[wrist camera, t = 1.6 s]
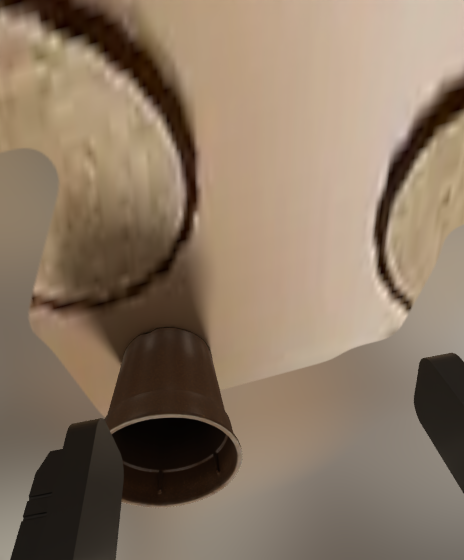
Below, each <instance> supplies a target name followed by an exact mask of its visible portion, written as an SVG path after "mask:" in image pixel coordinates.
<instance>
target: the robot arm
mask: <svg viewBox="0 0 464 560" xmlns="http://www.w3.org/2000/svg"><path fill="white" fill-rule="evenodd" d="M414 405H415V410H416V413H417V416H418V419H419V421H420V423H421V424H422V426H423V428H424V429H425V431H426V432H427V434H428V436H429V437H430V439H431V441H432V442H433V444H434V446H435V447H436V449H437V450H438V452H439V454H440V455H441V457H442V459H443V460H444V462H445V464H446V465H447V467H448V469H449V470H450V472H451V473H452V475H453V477H454V478H455V480H456V482H457V483H458V485H459V486H460V488H461V490H462V491H463V493H464V362H463V361H462V359H461V358H460V357H459V356H458V355H456V354H454V353H448V354H443V355H437V356H432V357H427V358H423V359H421V361H420V363H419V369H418V376H417V383H416V388H415V395H414ZM123 481H124V469H123V461H122V457H121V454H120V451H119V449H118V447H117V445H116V443H115V441H114V439H113V436H112V434H111V432H110V430H109V428H108V426H107V424H106V422H105V420H104V419H102V418H100V419H95V420H90V421H85V422H80V423H74V424H71V425H70V426H69V428H68V431H67V434H66V438H65V442H64V446H63V449H60V450H55V451H50V453H49V454H48V456H47V457H46V459H45V460H44V462H43V463H42V465H41V466H40V468H39V469H38V470H37V472H36V474H35V478H34V481H33V484H32V488H31V491H30V494H29V501H28V502H27V505H26V508H25V511H24V515H23V518H24V519H23V521H22V522H21V525H20V529H19V532H18V535H17V539H16V542H15V546H14V549H13V552H12V556H11V559H10V560H115V559H116V550H117V539H118V529H119V519H120V510H121V501H122V491H123Z"/></svg>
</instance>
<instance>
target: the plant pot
mask: <svg viewBox="0 0 464 560" xmlns="http://www.w3.org/2000/svg"><path fill="white" fill-rule="evenodd" d="M104 420H105V422H106V424H107V426H108V428H109V430H110V432H111V434H112V436H113V439H114V441H115V443H116V445H117V447H118V449H119V451H120V454H121V457H122V461H123V469H124V481H123V491H122V501H121V502H123V503H126V504H131V505H137V506H143V507H155V508H164V507H174V506H180V505H185V504H189V503H193V502H196V501H199V500H202V499H204V498H207V497H209V496H211V495H213V494H215V493H217V492H218V491H220V490H221V489H223V488H224V487H225V486H227V485H228V484H229V483H230V482H231V481H232V480H233V479H234V477H235V476H236V474H237V473H238V471H239V469H240V467H241V463H242V450H241V446H240V443H239V441H238V439H237V437H236V436H235V435H234V433H233V430H232V426H231V423H230V420H229V417H228V415H227V413H226V412H225V410H224V406H223V402H222V398H221V394H220V389H219V385H218V381H217V377H216V373H215V369H214V365H213V360H212V355H211V352H210V350H209V348H208V347H207V345H206V343H205V342H204V341H203V340H202V339H201V338H200V337H198V336H197V335H195V334H193V333H191V332H188V331H185V330H182V329H177V328H159V329H156V330H154V331H153V332H151V333H148V334H142V335H140V336H138V337H137V338H135V339H134V340H133V341H132V342H131V343H130V344H129V346H128V347H127V349H126V351H125V353H124V356H123V360H122V364H121V368H120V372H119V375H118V379H117V383H116V386H115V390H114V393H113V397H112V401H111V404H110V408H109V411H108V415H107V416H106V418H105V419H104Z"/></svg>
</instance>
